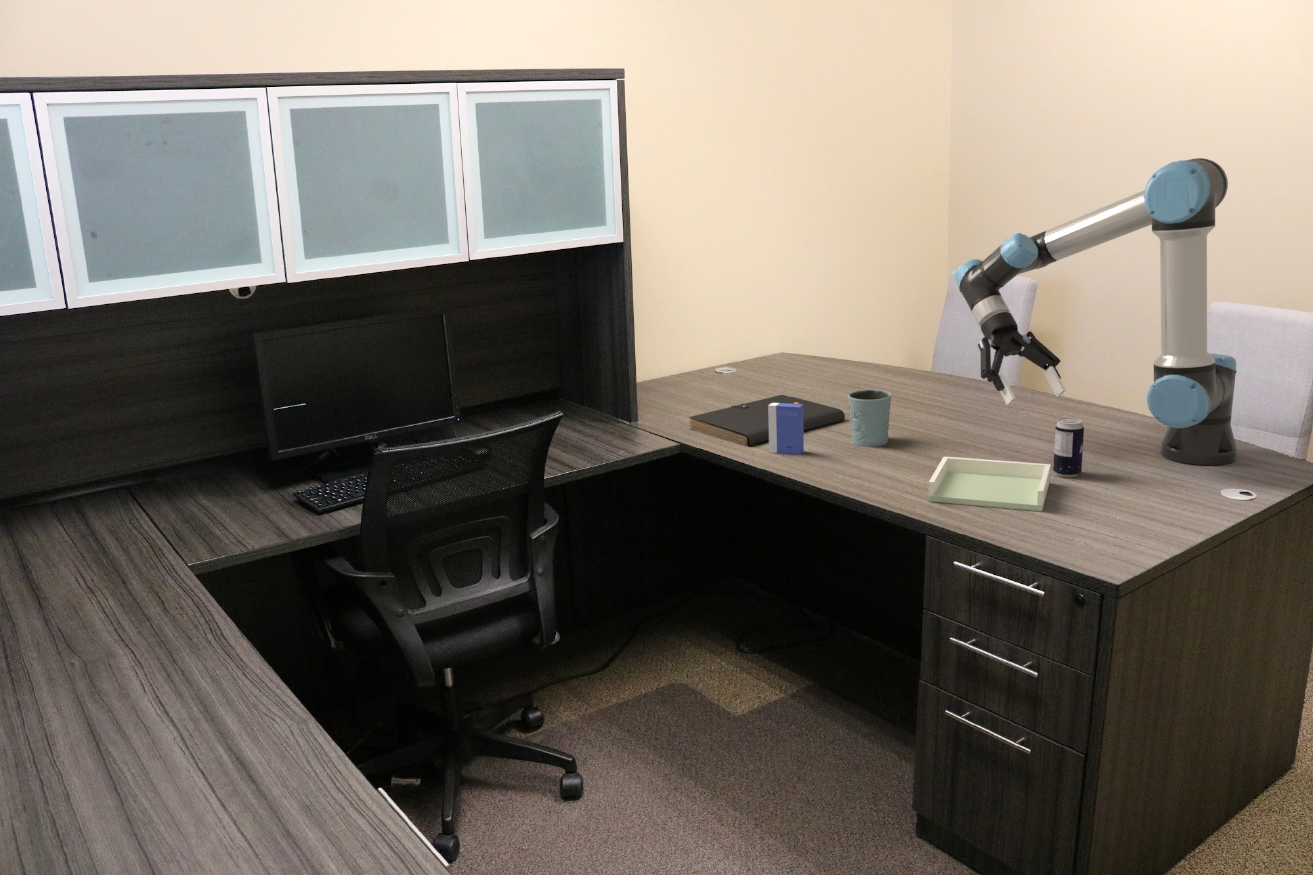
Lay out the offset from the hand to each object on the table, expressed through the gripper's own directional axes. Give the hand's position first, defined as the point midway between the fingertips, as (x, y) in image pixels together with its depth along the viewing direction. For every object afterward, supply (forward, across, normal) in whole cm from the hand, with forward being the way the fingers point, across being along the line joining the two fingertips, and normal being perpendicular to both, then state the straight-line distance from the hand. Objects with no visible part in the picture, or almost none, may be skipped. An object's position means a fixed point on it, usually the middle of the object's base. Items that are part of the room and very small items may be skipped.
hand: (1036, 397), depth 240 cm
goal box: (+19, +21, -2) cm, 29 cm away
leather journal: (-30, +37, -53) cm, 71 cm away
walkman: (-14, +44, -35) cm, 58 cm away
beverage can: (+18, 0, -3) cm, 18 cm away
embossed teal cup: (-12, +23, -33) cm, 42 cm away
